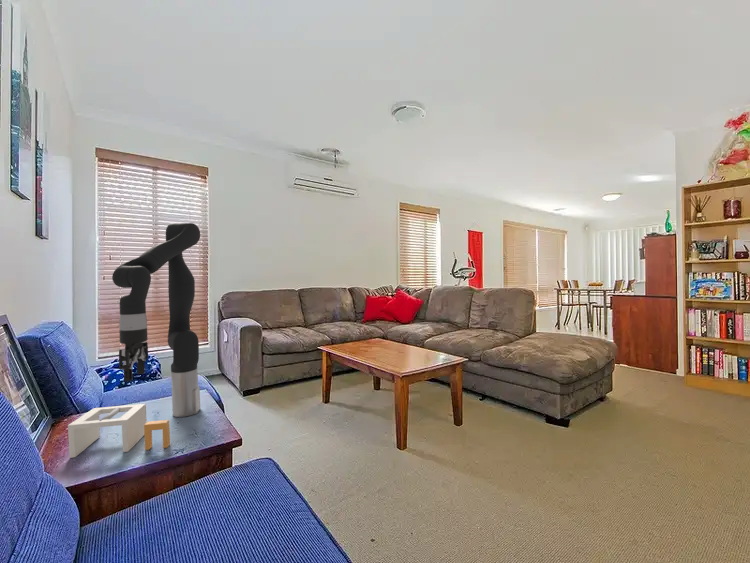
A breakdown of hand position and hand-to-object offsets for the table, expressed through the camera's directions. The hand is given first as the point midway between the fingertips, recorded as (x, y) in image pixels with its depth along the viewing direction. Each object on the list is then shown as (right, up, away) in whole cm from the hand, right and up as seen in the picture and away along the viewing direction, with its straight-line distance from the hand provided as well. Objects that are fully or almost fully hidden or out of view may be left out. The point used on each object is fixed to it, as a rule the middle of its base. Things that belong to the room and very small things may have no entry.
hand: (135, 377), depth 118 cm
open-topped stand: (-8, -22, +1) cm, 23 cm away
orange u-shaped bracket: (+9, -22, -2) cm, 23 cm away
